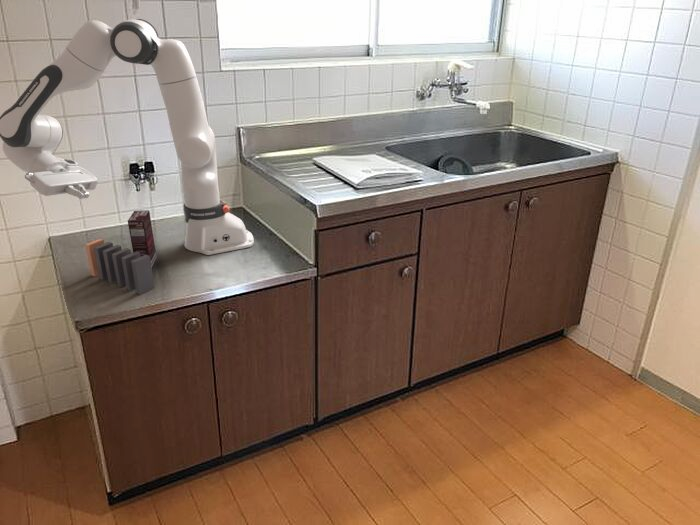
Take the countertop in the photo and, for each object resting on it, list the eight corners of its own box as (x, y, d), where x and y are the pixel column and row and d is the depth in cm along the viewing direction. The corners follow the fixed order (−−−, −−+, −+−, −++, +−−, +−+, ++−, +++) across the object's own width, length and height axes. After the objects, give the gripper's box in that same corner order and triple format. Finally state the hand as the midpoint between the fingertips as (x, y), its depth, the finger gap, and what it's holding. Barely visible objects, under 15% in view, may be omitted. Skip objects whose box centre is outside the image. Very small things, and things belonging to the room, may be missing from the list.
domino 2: (100, 278, 173) (93, 247, 169) (114, 272, 177) (109, 241, 173) (103, 280, 172) (97, 248, 168) (118, 273, 176) (112, 242, 172)
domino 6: (136, 293, 165) (130, 260, 161) (150, 286, 169) (145, 254, 165) (140, 294, 165) (134, 262, 160) (154, 287, 168) (149, 255, 164)
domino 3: (108, 282, 171) (102, 250, 167) (123, 275, 175) (117, 244, 171) (112, 283, 170) (106, 252, 166) (126, 277, 174) (121, 246, 170)
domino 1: (91, 275, 175) (85, 244, 171) (105, 269, 179) (100, 238, 175) (94, 276, 174) (88, 245, 170) (109, 270, 178) (103, 239, 174)
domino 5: (126, 289, 167) (121, 257, 163) (141, 282, 171) (136, 251, 167) (130, 291, 167) (125, 258, 162) (145, 284, 170) (139, 252, 166)
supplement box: (141, 257, 186) (133, 210, 180) (157, 257, 187) (150, 209, 180) (134, 269, 179) (126, 220, 172) (151, 269, 179) (143, 220, 172)
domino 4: (117, 285, 169) (111, 254, 165) (132, 279, 173) (126, 247, 169) (121, 287, 168) (115, 255, 164) (135, 280, 172) (130, 249, 168)
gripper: (24, 164, 165) (60, 190, 162) (79, 160, 183) (112, 184, 181) (17, 184, 167) (54, 210, 165) (73, 178, 186) (106, 201, 183)
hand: (85, 196), depth 173 cm, fingers closed
